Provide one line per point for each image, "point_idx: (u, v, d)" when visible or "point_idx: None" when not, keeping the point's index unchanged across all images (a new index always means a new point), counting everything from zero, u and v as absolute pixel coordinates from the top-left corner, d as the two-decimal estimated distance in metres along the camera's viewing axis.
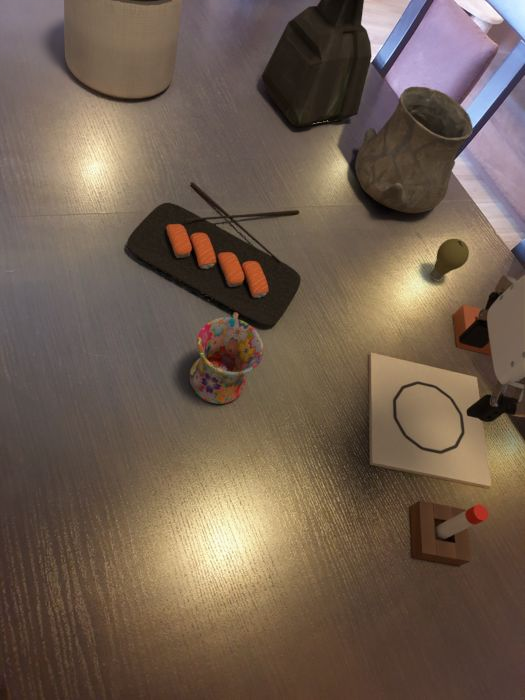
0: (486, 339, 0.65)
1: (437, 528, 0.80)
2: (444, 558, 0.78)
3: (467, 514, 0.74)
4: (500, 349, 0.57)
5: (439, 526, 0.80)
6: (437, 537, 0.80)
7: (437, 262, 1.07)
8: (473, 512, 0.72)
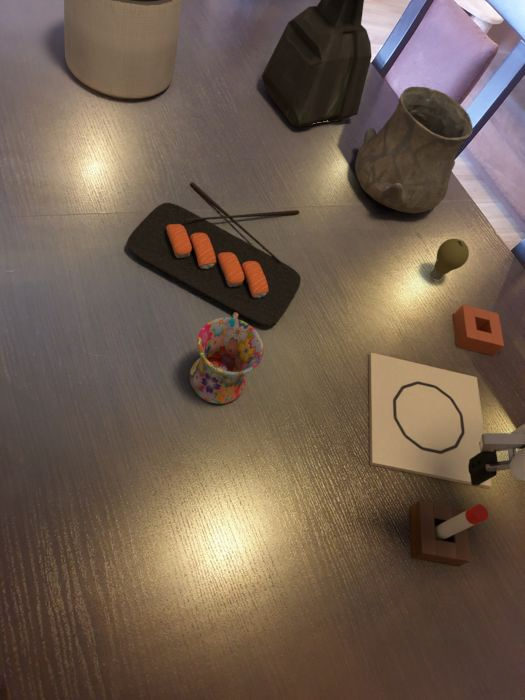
0: None
1: (437, 528, 0.80)
2: (444, 558, 0.78)
3: (467, 514, 0.74)
4: None
5: (439, 526, 0.80)
6: (437, 537, 0.80)
7: (437, 262, 1.07)
8: (473, 512, 0.72)
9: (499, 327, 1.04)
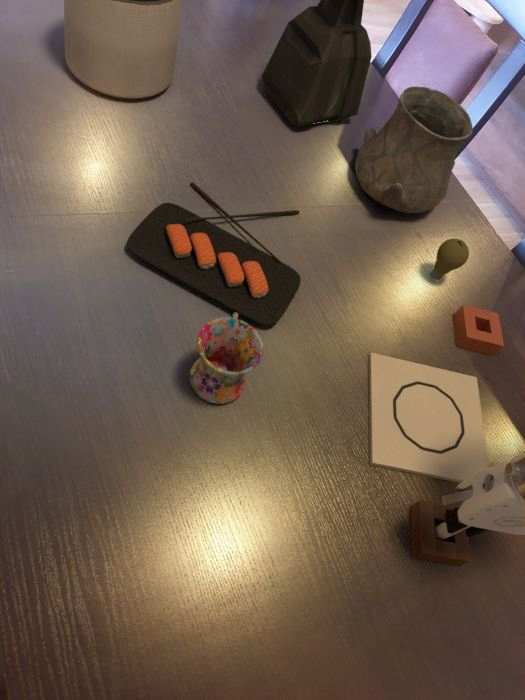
0: (472, 528, 0.75)
1: (437, 528, 0.80)
2: (444, 558, 0.78)
3: None
4: None
5: (439, 526, 0.80)
6: (437, 538, 0.80)
7: (437, 262, 1.07)
8: None
9: (499, 327, 1.04)
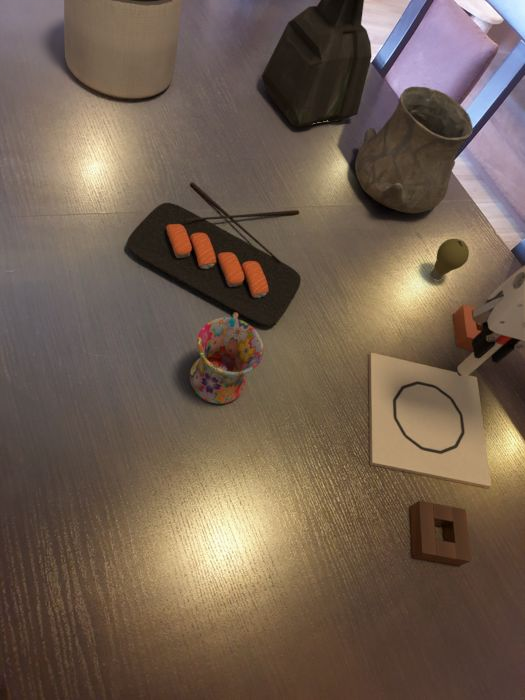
0: (499, 351, 0.78)
1: (463, 362, 0.83)
2: (444, 558, 0.78)
3: None
4: None
5: (465, 359, 0.83)
6: (463, 371, 0.83)
7: (437, 262, 1.07)
8: None
9: None
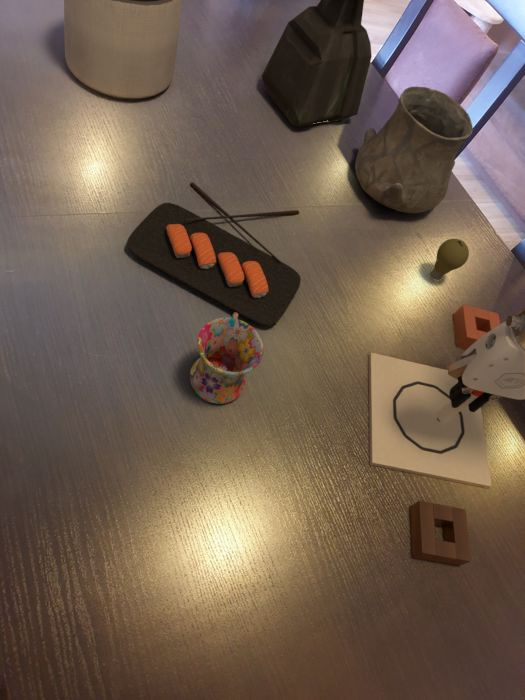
0: (475, 402, 0.81)
1: (442, 409, 0.86)
2: (444, 558, 0.78)
3: None
4: None
5: (444, 407, 0.86)
6: (442, 418, 0.86)
7: (437, 262, 1.07)
8: None
9: None
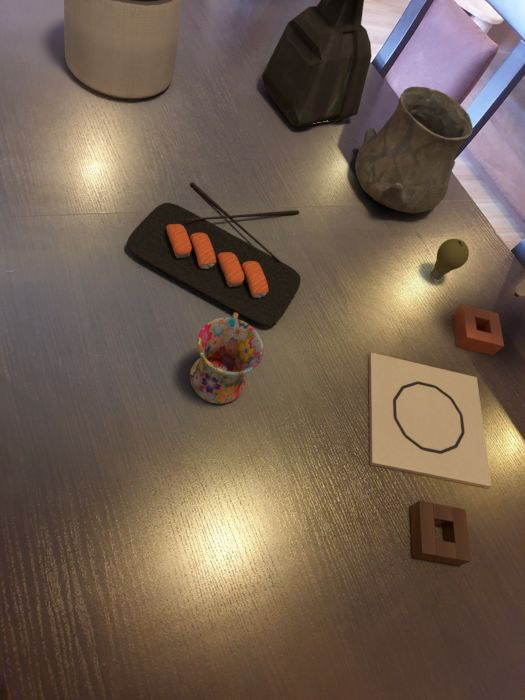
0: None
1: (521, 283, 0.91)
2: (444, 558, 0.78)
3: None
4: None
5: (523, 280, 0.91)
6: (521, 291, 0.92)
7: (437, 262, 1.07)
8: None
9: (499, 327, 1.04)
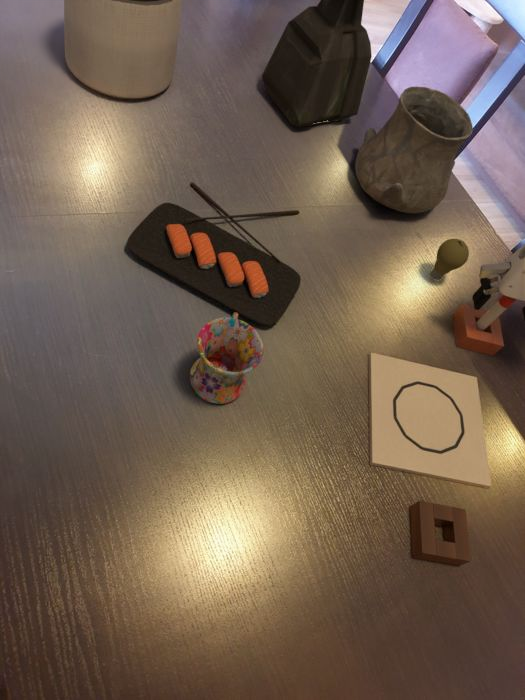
0: None
1: None
2: (444, 558, 0.78)
3: (500, 300, 0.97)
4: None
5: (476, 322, 1.03)
6: None
7: (437, 262, 1.07)
8: (505, 296, 0.96)
9: (499, 327, 1.04)
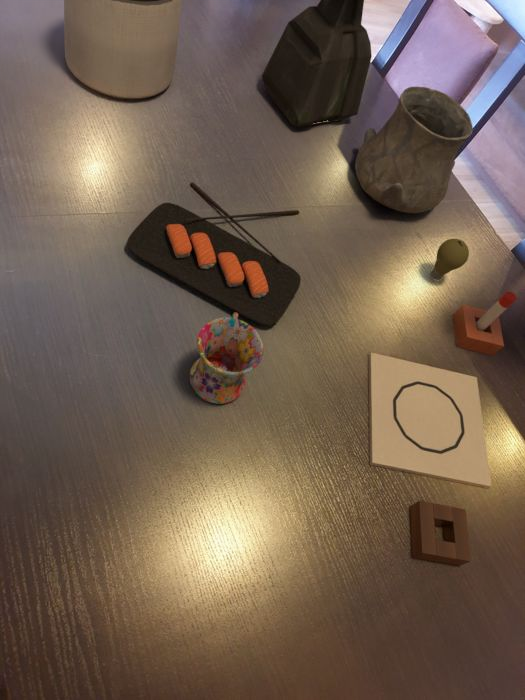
0: None
1: None
2: (444, 558, 0.78)
3: (500, 300, 0.97)
4: None
5: (476, 322, 1.03)
6: None
7: (437, 262, 1.07)
8: (505, 296, 0.96)
9: (499, 327, 1.04)
